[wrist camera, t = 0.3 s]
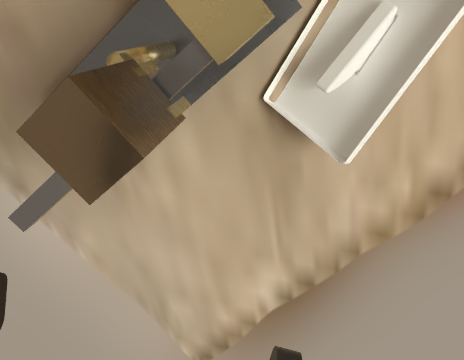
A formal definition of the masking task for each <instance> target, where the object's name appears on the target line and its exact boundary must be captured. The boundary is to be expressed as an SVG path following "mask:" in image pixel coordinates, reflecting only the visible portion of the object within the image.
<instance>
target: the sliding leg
mask: <svg viewBox="0 0 464 360" xmlns="http://www.w3.org/2000/svg"><path fill="white" fill-rule="evenodd" d="M175 54H176V48H175V46H174V44H173V43H171V42H162V43H157V44H152V45H147V46H142V47H137V48H132V49H127V50H122V51H117V52H113V53H111V54H110V55H109V56H108V57H107V61H106V64H107V66H105V67H101V68H97V69H93V70H89V71H86V72H82V73H78V74H74V75H71V76H68V77H67V78H66V79H65V80H64V81H63V82H62V83H61V84H60V85H59V86H58V87H57V88H56V90H55V91H54V92H53V93H52V94H51V95H50V96H49V97H48V98H47V99H46V100H45V101H44V102H43V104H42V105H41V106H40V107H39V108H38V109H37V110H36V111H35V112H34V113H33V114H32V115H31V117H30V118H29V119H28V120H27V121H26V122H25V123H24V124H23V125H22V126H21V127H20V128H19V129H18V131H17V133H18V134H19V135H20V136H21V137H22V138H23V139H24V140H25V141H26V142H27V143H28V144H29V145H30V146H31V147H32V148H33V149H34V150H35V151H36V152H37V153H38V154H39V155H40V156H41V157H42V158H43V159H44V160H45V161H46V162H47V163H48V164H49V165H50V166H51V167H52V168H53V169H54V170H55V171H56V172H57V173H58V174H59V175H60V176H61V177H62V178H63V179H64V180H65V181H66V182H67V183H68V184H69V185H70V186H71V187H72V188H73V189H74V190H75V191H76V192H77V193H78V194H79V195H80V196H81V197H82V198H83V199H84V200H85V201H86V202H87V203H88V204H89V205H91V204H92V203H93V202H94V201H95V200H96V199H98V198H99V197H100V196H101V195H102V194H103V193H104V192H106V191H107V190H108V189H109V188H110V187H111V186H113V185H114V184H115V183H116V182H117V181H118V180H119V179H121V178H122V177H123V176H124V175H125V174H126V173H128V172H129V171H130V170H131V169H132V168H133V167H134V166H136V165H137V164H138V163H139V162H140V161H141V160H143V159H144V158H145V157H146V156H147V155H148V154H149V153H150V152H151V151H152V150H153V149H154V148H155V147H156V146H157V145H158V144H159V143H160V142H161V141H162V140H164V139H165V138H166V137H167V136H168V135H169V134H170V133H171V132H172V131H173V130H174V129H175V128H176V127H177V126H178V125H179V124H180V123H181V122H182V121H183V120H184V119H185V117H184V116H183V115H182V113H183V112H184V111H185V110H186V109H187V108H188V107H189V106H191V104H190V103H189V102H188V101H187V100H186V98H185V97H184V96H183V97H182V98H180V99H179V100H178V101H176V102H175V103H172V102H171V101H170V100H169V99H168V97H167V96H166V95H165V94H164V93H163V92H162V91H161V89H160V88H159V87H158V86H157V85H156V84H155V83H154V81H153V80H152V79H151V77H152V76H153V75H154V74H155V73H156V72H157V71H158V70H159V69H160V68H159V67H158V66H157V65H156V64H157V63H160V62H162V61H165V60H168V59H171V58H173V57H174V56H175Z"/></svg>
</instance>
